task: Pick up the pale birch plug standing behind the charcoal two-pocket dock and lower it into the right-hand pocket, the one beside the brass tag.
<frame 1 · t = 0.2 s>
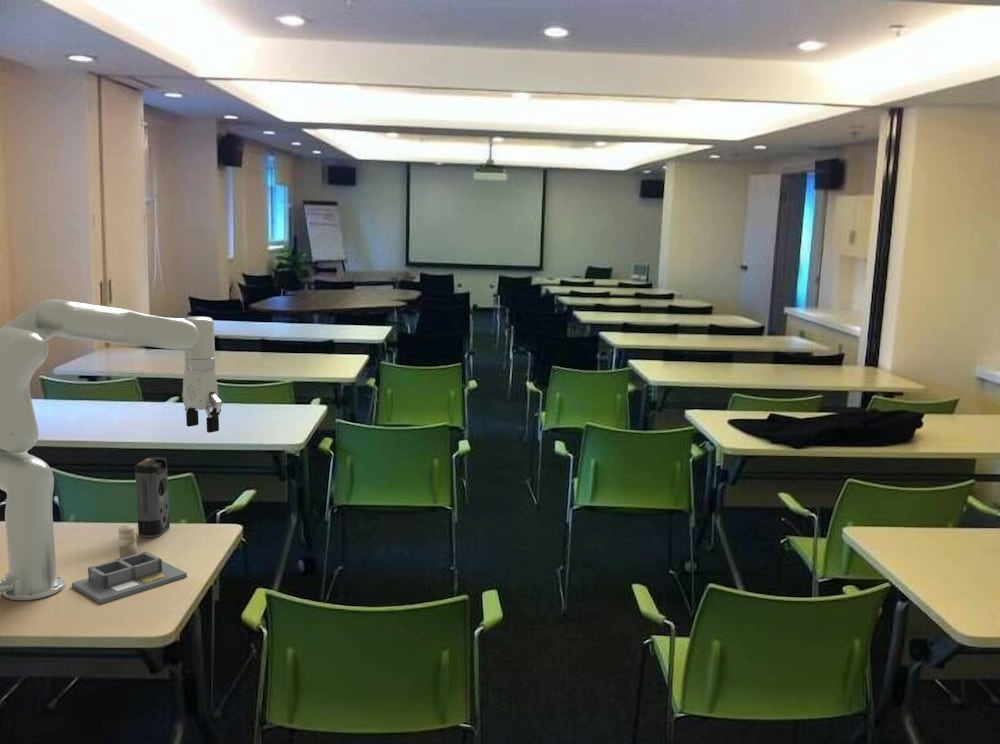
hand: (202, 428, 231), 31 cm above the table, tool pointing down, fingers open, 9 cm apart
charging dock: (129, 581, 208), on the table
electronic device: (154, 532, 241), on the table
birch plug: (128, 558, 222), on the table
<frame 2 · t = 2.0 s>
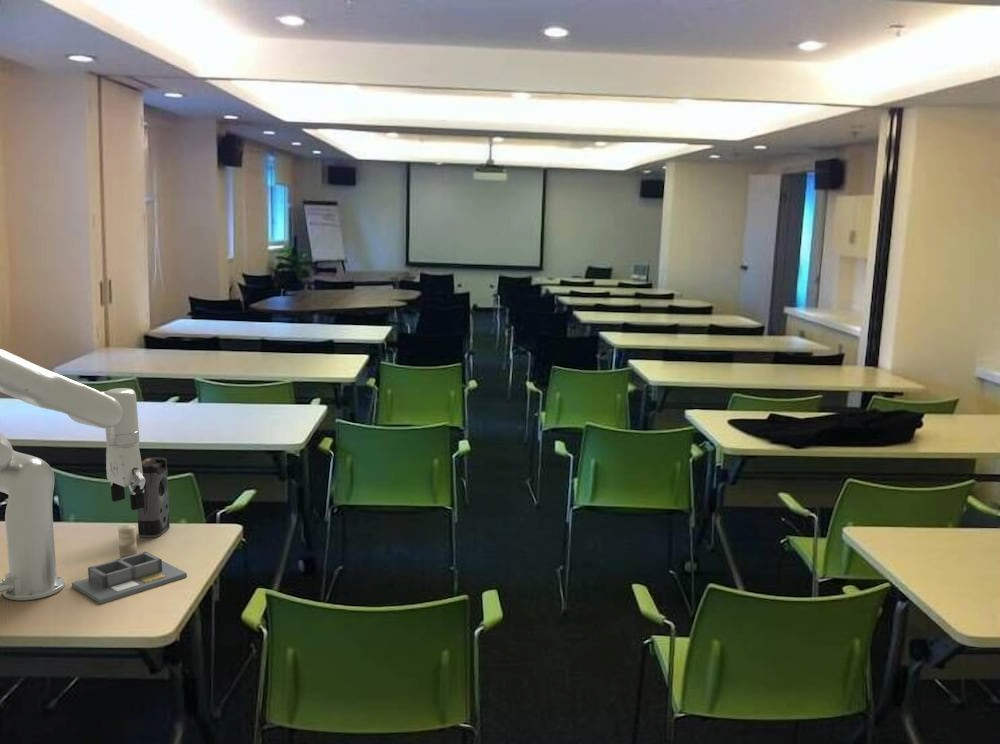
hand: (128, 504, 221), 14 cm above the table, tool pointing down, fingers open, 9 cm apart
nothing on the table moved.
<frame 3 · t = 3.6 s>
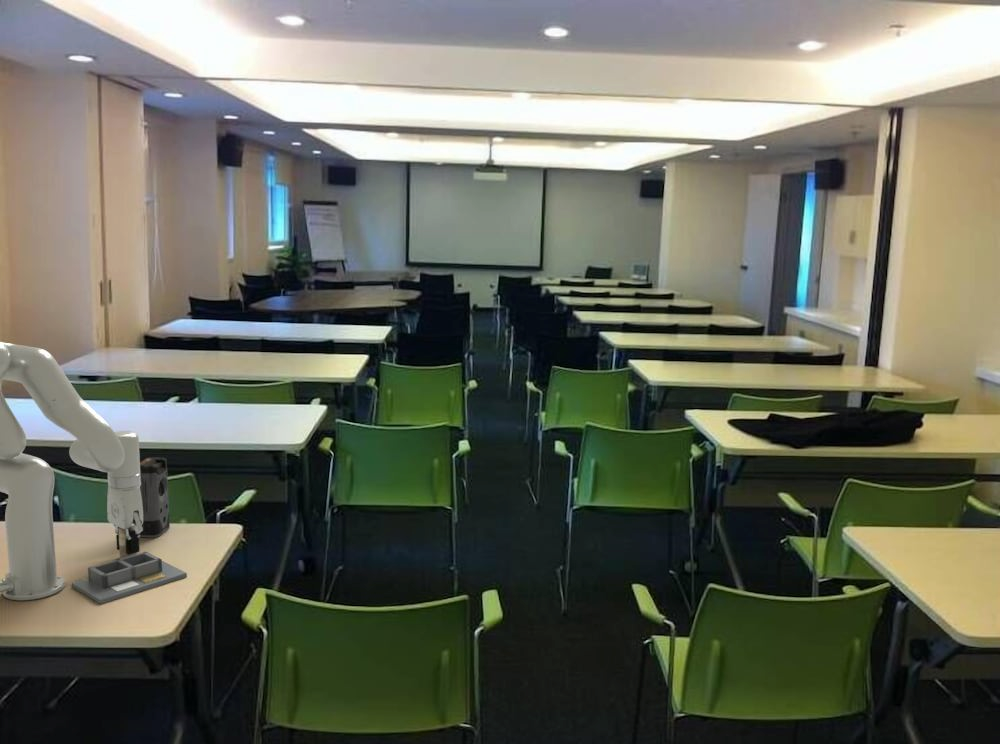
hand: (128, 550, 222), 2 cm above the table, tool pointing down, fingers closed on birch plug, 4 cm apart
birch plug: (128, 558, 222), on the table, touching gripper
everything else where it was.
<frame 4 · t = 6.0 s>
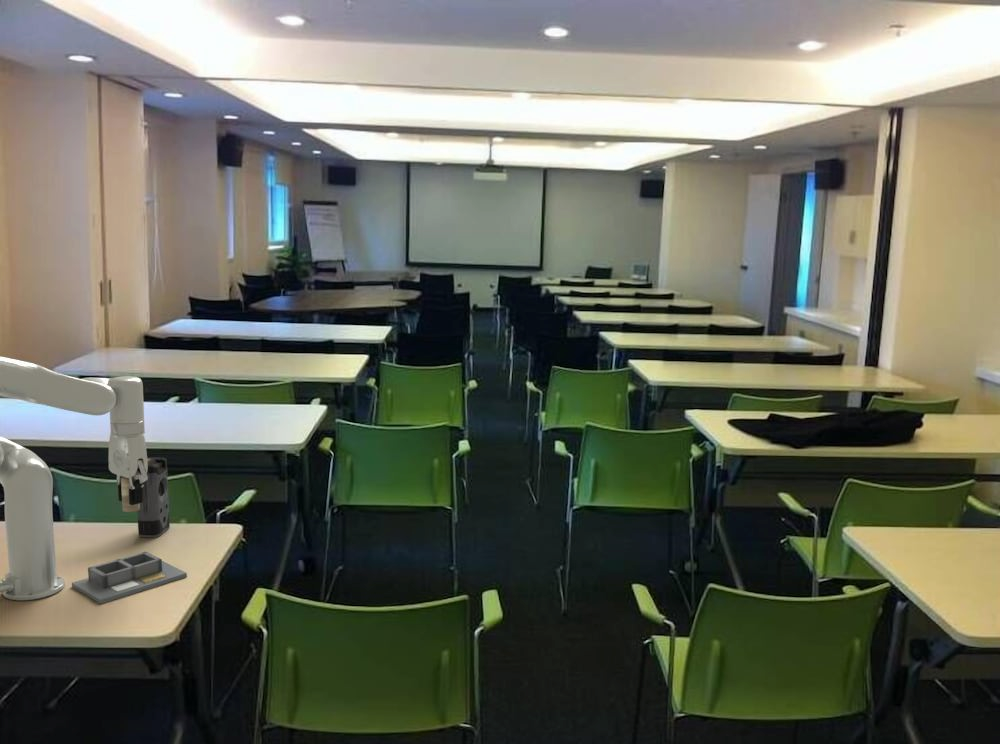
hand: (130, 501, 213), 17 cm above the table, tool pointing down, fingers closed on birch plug, 4 cm apart
birch plug: (131, 509, 214), point 15 cm above the table, touching gripper
everything else where it was.
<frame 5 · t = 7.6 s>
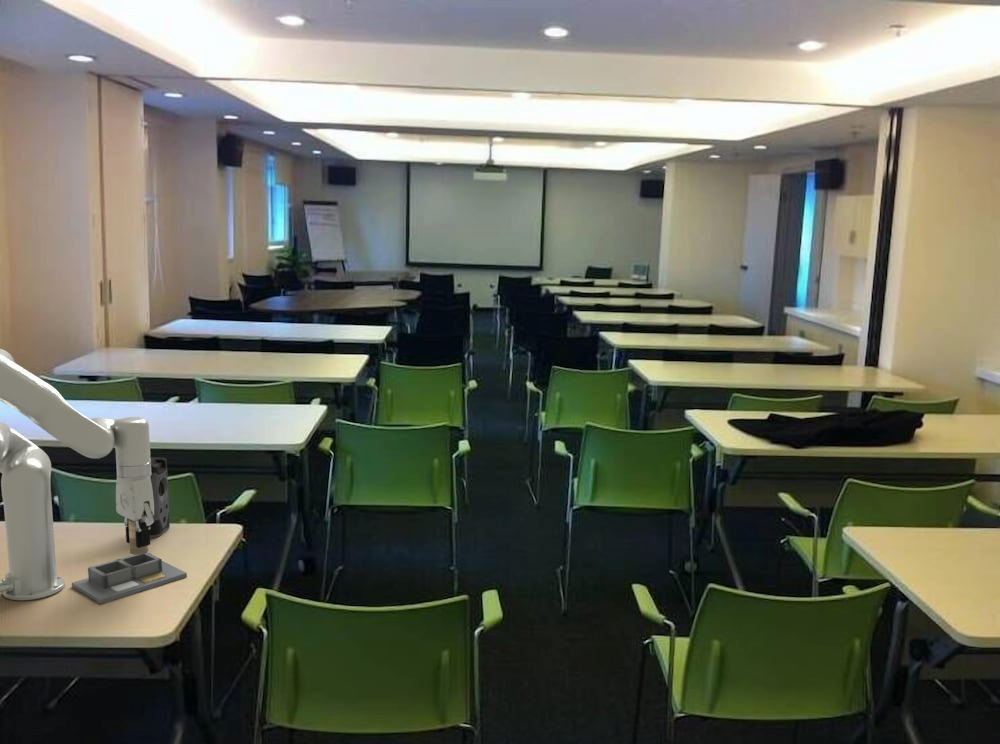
hand: (138, 543, 210), 8 cm above the table, tool pointing down, fingers closed on birch plug, 4 cm apart
birch plug: (139, 551, 211), point 6 cm above the table, touching gripper
everything else where it was.
when the fingers open (5 cm above the table, at t = 8.6 s): birch plug drops 2 cm, resting on charging dock.
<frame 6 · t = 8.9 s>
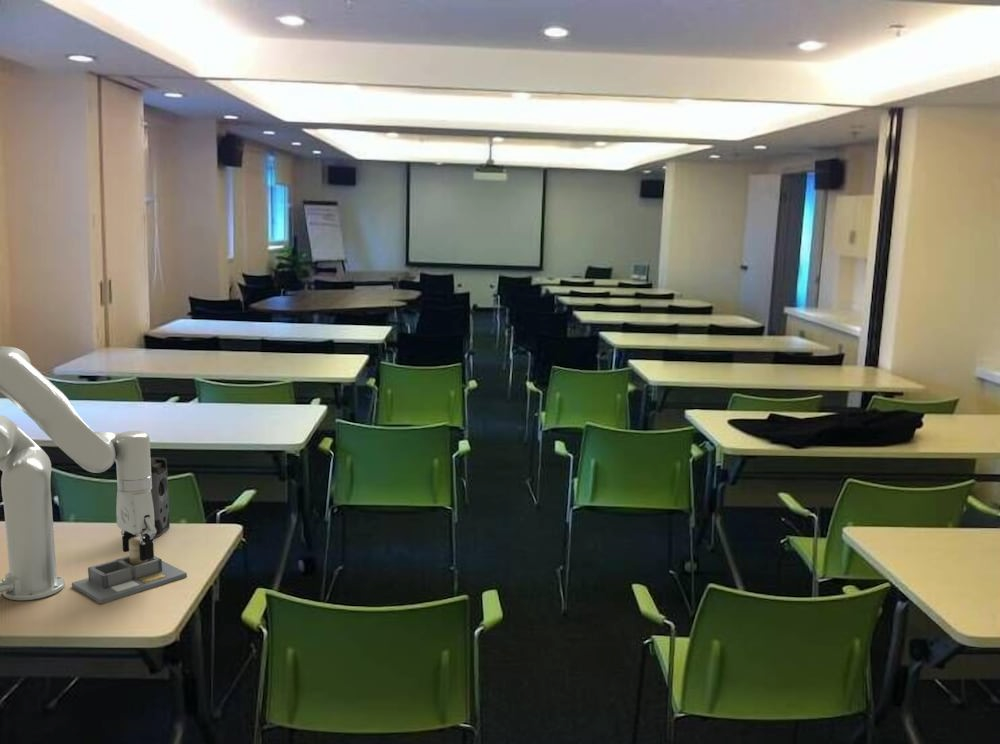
hand: (138, 554, 211), 5 cm above the table, tool pointing down, fingers open, 7 cm apart
birch plug: (139, 571, 212), point 1 cm above the table, touching charging dock
everything else where it was.
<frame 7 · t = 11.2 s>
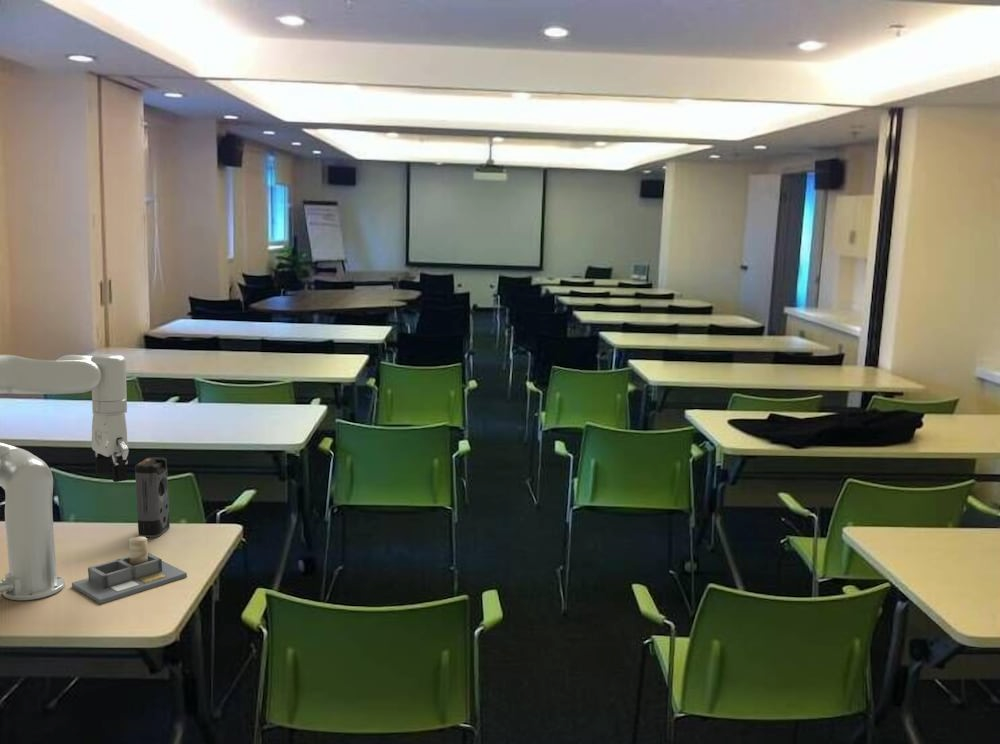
hand: (111, 476, 211), 24 cm above the table, tool pointing down, fingers open, 9 cm apart
nothing on the table moved.
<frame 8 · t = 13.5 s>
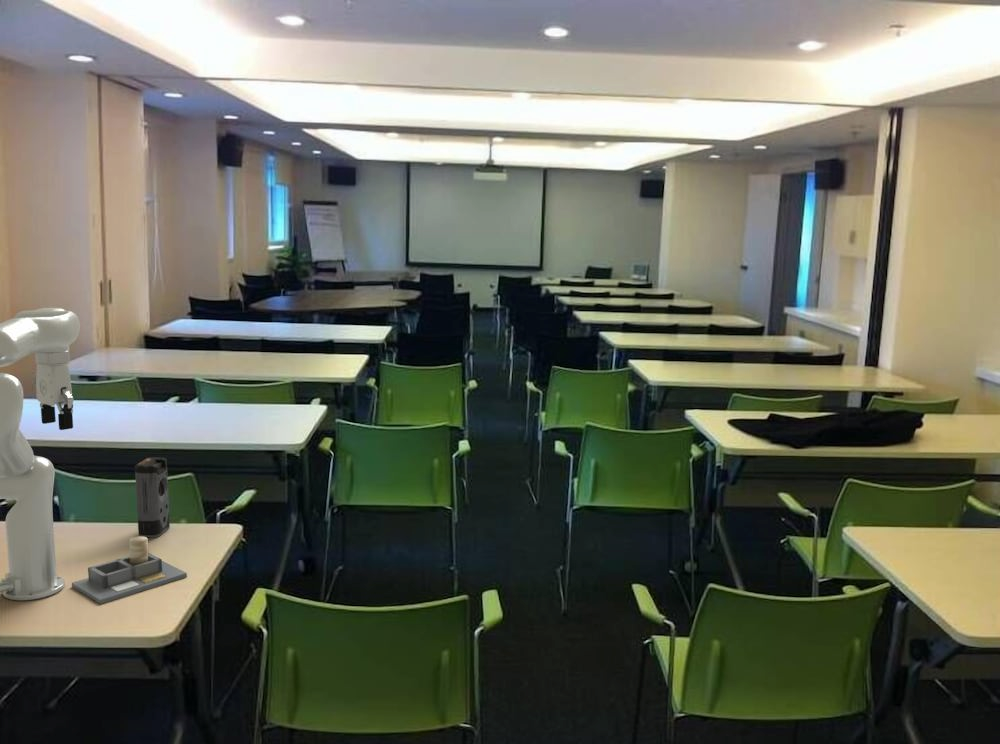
hand: (57, 425, 220), 33 cm above the table, tool pointing down, fingers open, 9 cm apart
nothing on the table moved.
at the end: birch plug 0.1 cm from the target spot on the charging dock, point 1.1 cm above the charging dock's base; birch plug tilted 2°; the gripper is holding nothing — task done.
